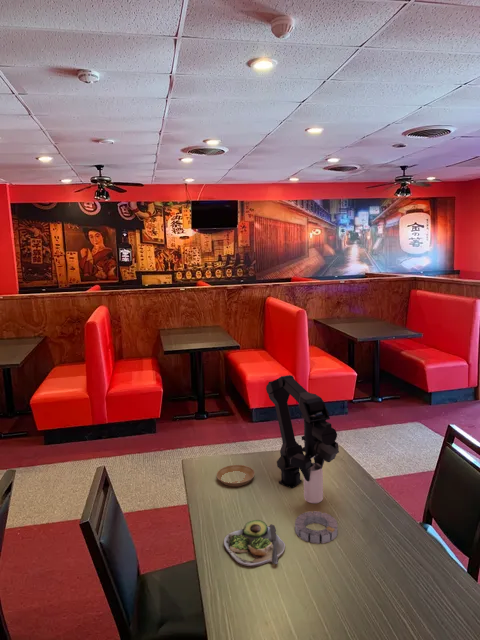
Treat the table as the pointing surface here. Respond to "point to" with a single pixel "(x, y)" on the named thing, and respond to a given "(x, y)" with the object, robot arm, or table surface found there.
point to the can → (314, 485)
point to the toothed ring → (316, 535)
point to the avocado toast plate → (255, 543)
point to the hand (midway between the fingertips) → (313, 477)
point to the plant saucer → (241, 468)
